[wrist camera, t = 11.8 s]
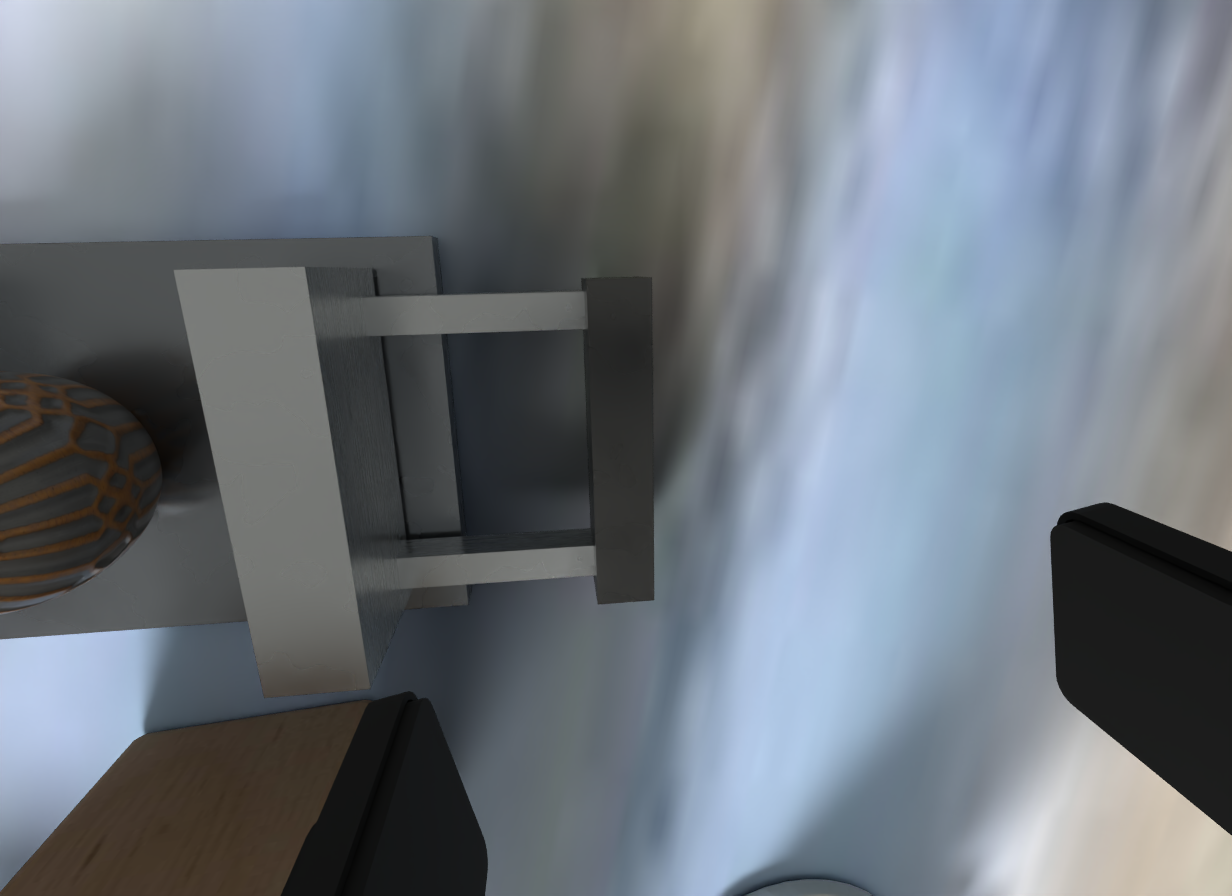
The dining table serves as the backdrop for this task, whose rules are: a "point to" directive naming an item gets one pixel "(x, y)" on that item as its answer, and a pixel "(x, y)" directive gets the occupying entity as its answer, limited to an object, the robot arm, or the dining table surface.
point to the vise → (173, 414)
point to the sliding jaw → (391, 456)
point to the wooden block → (198, 810)
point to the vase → (67, 486)
